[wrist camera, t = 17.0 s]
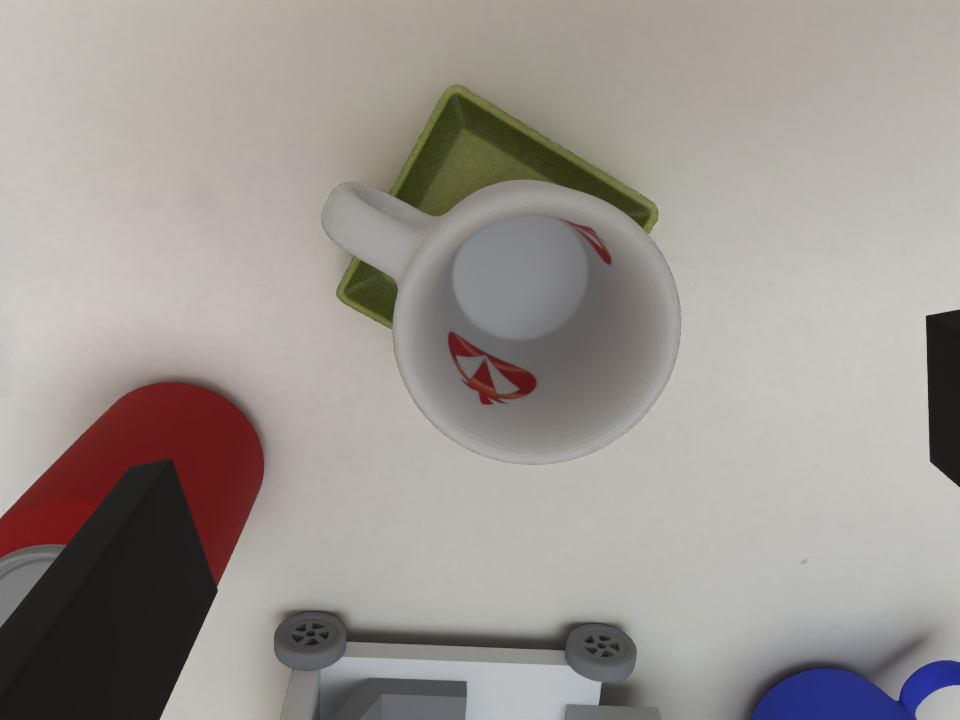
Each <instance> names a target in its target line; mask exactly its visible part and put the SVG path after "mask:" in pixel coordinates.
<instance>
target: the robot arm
mask: <svg viewBox="0 0 960 720" xmlns="http://www.w3.org/2000/svg"><path fill="white" fill-rule="evenodd" d="M926 333H927V371H928V408H929V445H930V462H931V463H932V464H933V465H935V466H936V467H937V468H938V469H939V470H940V471H942V472H943V473H944V474H945V475H946V476H947V477H948V478H950V479H951V480H952V481H953V482H954V483H955V484H957V485H958V486H959V487H960V310H955V311H949V312H944V313H939V314H933V315H928V316H926ZM217 592H218V589H217V587H216V584H215V581H214V578H213V575H212V572H211V569H210V566H209V563H208V560H207V558H206V555H205V552H204V549H203V546H202V543H201V540H200V537H199V534H198V531H197V528H196V526H195V523H194V520H193V517H192V514H191V511H190V508H189V505H188V502H187V499H186V497H185V494H184V491H183V488H182V485H181V482H180V479H179V476H178V473H177V470H176V468H175V465H174V462H173V459H172V458H171V459H166V460H161V461H155V462H150V463H145V464H140V465H134V466H130V467H129V468H128V470H127V471H126V472H125V473H124V474H123V476H122V477H121V478H120V479H119V481H118V482H117V483H116V484H115V486H114V487H113V488H112V489H111V491H110V492H109V493H108V494H107V496H106V497H105V498H104V499H103V501H102V502H101V503H100V504H99V506H98V507H97V508H96V509H95V511H94V512H93V513H92V514H91V516H90V517H89V518H88V519H87V521H86V522H85V523H84V524H83V525H82V527H81V528H80V529H79V530H78V532H77V533H76V534H75V535H74V537H73V538H72V539H71V540H70V542H69V543H68V544H67V545H66V547H65V548H64V549H63V550H62V552H61V553H60V554H59V555H58V557H57V558H56V559H55V560H54V562H53V563H52V564H51V565H50V567H49V568H48V569H47V570H46V572H45V573H44V574H43V575H42V576H41V578H40V579H39V580H38V581H37V583H36V584H35V585H34V586H33V588H32V589H31V590H30V591H29V593H28V594H27V595H26V596H25V598H24V599H23V600H22V601H21V603H20V604H19V605H18V606H17V608H16V609H15V610H14V611H13V613H12V614H11V615H10V616H9V618H8V619H7V620H6V621H5V623H4V624H3V625H2V626H1V627H0V720H160V717H161V715H162V713H163V711H164V709H165V706H166V704H167V702H168V700H169V698H170V695H171V693H172V691H173V689H174V686H175V684H176V682H177V680H178V678H179V675H180V673H181V671H182V669H183V667H184V664H185V662H186V660H187V658H188V656H189V653H190V651H191V649H192V647H193V645H194V642H195V640H196V638H197V636H198V634H199V631H200V629H201V627H202V625H203V623H204V620H205V618H206V616H207V614H208V612H209V609H210V607H211V605H212V603H213V600H214V598H215V596H216V594H217Z"/></svg>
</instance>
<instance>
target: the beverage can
mask: <svg viewBox="0 0 960 720" xmlns="http://www.w3.org/2000/svg"><path fill="white" fill-rule="evenodd" d="M171 458H172V459H173V462H174V465H175V468H176V470H177V473H178V476H179V479H180V482H181V485H182V488H183V491H184V494H185V497H186V499H187V502H188V505H189V508H190V511H191V514H192V517H193V520H194V523H195V526H196V528H197V531H198V534H199V537H200V540H201V543H202V546H203V549H204V552H205V555H206V558H207V560H208V563H209V566H210V569H211V572H212V575H213V578H214V581H215V584H216V587H217V586H218V584H219V582H220V579H221V577H222V575H223V573H224V571H225V568H226V566H227V564H228V562H229V560H230V557H231V555H232V553H233V551H234V548H235V546H236V544H237V541H238V539H239V537H240V535H241V532H242V530H243V528H244V525H245V523H246V521H247V518H248V516H249V514H250V511H251V509H252V507H253V504H254V502H255V499H256V497H257V495H258V492H259V490H260V487H261V484H262V480H263V473H264V459H263V453H262V448H261V445H260V441H259V439H258V436H257V434H256V432H255V430H254V429H253V427H252V425H251V424H250V422H249V421H248V420H247V418H246V417H245V416H244V415H243V414H242V413H241V412H240V411H239V410H238V409H237V408H236V407H235V406H234V405H233V404H232V403H230V402H229V401H227V400H226V399H225V398H223V397H221V396H220V395H218V394H216V393H214V392H212V391H210V390H207V389H205V388H202V387H198V386H195V385H191V384H185V383H174V382H170V383H157V384H152V385H148V386H144V387H141V388H139V389H136V390H134V391H132V392H130V393H128V394H126V395H125V396H123V397H122V398H121V399H119V400H118V401H117V402H116V403H115V404H113V405H112V406H111V407H110V408H109V409H108V410H107V411H106V412H105V413H104V414H103V415H102V416H101V417H100V418H99V419H98V420H97V421H96V422H95V423H94V424H93V425H92V426H91V427H90V428H89V429H88V430H87V431H86V432H84V433H83V434H82V435H81V436H80V437H79V438H78V439H77V440H76V441H75V442H74V444H73V445H72V446H71V447H70V448H69V449H68V450H67V451H66V452H65V453H64V454H63V455H62V456H61V457H60V458H59V459H58V460H57V461H56V462H55V463H54V464H53V465H52V466H51V467H50V468H49V469H48V470H47V471H46V472H45V473H44V474H43V475H42V476H41V477H40V478H39V479H38V480H37V481H36V482H35V483H34V484H33V485H32V486H31V487H30V488H29V489H28V490H27V491H26V492H25V493H24V494H23V495H22V496H21V497H20V499H19V500H18V501H17V502H16V503H15V504H14V505H13V506H12V507H11V508H10V509H9V510H8V511H7V512H6V513H5V514H4V515H3V516H2V517H1V518H0V627H1V626H2V625H3V624H4V623H5V621H6V620H7V619H8V618H9V616H10V615H11V614H12V613H13V611H14V610H15V609H16V608H17V606H18V605H19V604H20V603H21V601H22V600H23V599H24V598H25V596H26V595H27V594H28V593H29V591H30V590H31V589H32V588H33V586H34V585H35V584H36V583H37V581H38V580H39V579H40V578H41V576H42V575H43V574H44V573H45V572H46V570H47V569H48V568H49V567H50V565H51V564H52V563H53V562H54V560H55V559H56V558H57V557H58V555H59V554H60V553H61V552H62V550H63V549H64V548H65V547H66V545H67V544H68V543H69V542H70V540H71V539H72V538H73V537H74V535H75V534H76V533H77V532H78V530H79V529H80V528H81V527H82V525H83V524H84V523H85V522H86V521H87V519H88V518H89V517H90V516H91V514H92V513H93V512H94V511H95V509H96V508H97V507H98V506H99V504H100V503H101V502H102V501H103V499H104V498H105V497H106V496H107V494H108V493H109V492H110V491H111V489H112V488H113V487H114V486H115V484H116V483H117V482H118V481H119V479H120V478H121V477H122V476H123V474H124V473H125V472H126V471H127V470H128V468H129V467H130V466H134V465H140V464H145V463H150V462H155V461H161V460H166V459H171Z"/></svg>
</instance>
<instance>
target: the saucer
mask: <svg viewBox="0 0 960 720" xmlns="http://www.w3.org/2000/svg"><path fill="white" fill-rule="evenodd" d="M510 180H538V181H544V182H549V183H553V184H556V185H560V186H563V187H566V188H570V189H573V190H577V191H580V192H583V193H586V194H589V195H592V196H594V197H597V198H599V199H601V200H603V201H605V202H607V203H609V204H611V205H613V206H615V207H616V208H618V209H619V210H621V211H622V212H624V213H625V214H626V215H628V216H629V217H630V218H631V219H633V220H634V221H635V222H636V223H637V224H638V225H639V226H640V227H641V228H643V229H644V231H645V232H646V233H647V234H649V233H650V231H651V229H652V228H653V226H654V225H655V223H656V222H657V220H658V209H657V207H656V205H655V204H654V203H653V202H652V201H650V200H649V199H647V198H645V197H644V196H642V195H641V194H639V193H638V192H636V191H635V190H633V189H631V188H629V187H628V186H626V185H624V184H623V183H621V182H619V181H617V180H616V179H614V178H612V177H611V176H609V175H608V174H606V173H604V172H602V171H601V170H599V169H597V168H596V167H594V166H592V165H591V164H589V163H588V162H586V161H584V160H582V159H581V158H579V157H578V156H576V155H574V154H573V153H571V152H569V151H568V150H566V149H564V148H562V147H561V146H559V145H557V144H556V143H554V142H552V141H551V140H549V139H548V138H546V137H544V136H543V135H541V134H540V133H538V132H536V131H535V130H533V129H531V128H529V127H528V126H526V125H525V124H523V123H522V122H520V121H518V120H517V119H515V118H513V117H511V116H510V115H508V114H507V113H505V112H503V111H502V110H500V109H499V108H497V107H495V106H494V105H492V104H490V103H489V102H487V101H486V100H484V99H482V98H481V97H479V96H477V95H476V94H474V93H472V92H471V91H469V90H468V89H466V88H464V87H463V86H460V85H453V86H450V87H449V88H448V89H447V90H446V91H445V92H444V93H443V95H442V97H441V98H440V100H439V102H438V104H437V106H436V107H435V109H434V111H433V113H432V115H431V117H430V119H429V121H428V123H427V124H426V126H425V128H424V130H423V132H422V134H421V135H420V137H419V139H418V141H417V143H416V145H415V147H414V148H413V150H412V152H411V154H410V156H409V158H408V160H407V162H406V163H405V165H404V167H403V169H402V171H401V173H400V174H399V176H398V178H397V180H396V182H395V184H394V185H393V187H392V189H391V191H390V193H389V194H390V195H392V196H394V197H396V198H398V199H400V200H401V201H403V202H405V203H407V204H409V205H411V206H413V207H414V208H416V209H418V210H420V211H422V212H424V213H426V214H428V215H431V216H442V215H444V214H445V213H447V212H448V211H450V210H451V209H452V208H453V207H454V206H455V205H457V204H458V203H459V202H460V201H462V200H463V199H464V198H466V197H467V196H469V195H471V194H472V193H474V192H476V191H478V190H480V189H482V188H484V187H487V186H490V185H493V184H496V183H499V182H504V181H510ZM397 293H398V287H397V283H396V282H395V280H394V279H393V278H392V277H390V276H388V275H387V274H385V273H384V272H382V271H380V270H378V269H377V268H375V267H373V266H371V265H369V264H368V263H366V262H364V261H362V260H360V259H359V258H357V257H355V256H354V258H353V260H352V262H351V264H350V265H349V267H348V269H347V271H346V273H345V274H344V276H343V278H342V280H341V282H340V284H339V286H338V288H337V292H336V295H337V297H338V298H339V299H340V301H342V302H343V303H344V304H346V305H348V306H350V307H351V308H353V309H355V310H356V311H358V312H360V313H362V314H364V315H366V316H368V317H370V318H372V319H373V320H375V321H377V322H379V323H381V324H382V325H384V326H387V327H389V328H391V329H392V330H393V315H394V307H395V302H396V298H397Z"/></svg>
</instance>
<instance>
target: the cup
mask: <svg viewBox="0 0 960 720" xmlns="http://www.w3.org/2000/svg"><path fill="white" fill-rule="evenodd" d="M321 222H322V227H323V229H324V230H325V232H326V234H327V235H328V236H329V237H330V238H331V239H332V240H333V241H334V242H335V243H336V244H338V245H339V246H340V247H341V248H343V249H344V250H346V251H347V252H349V253H351V254H352V255H354V256H355V257H357V258H359V259H360V260H362V261H364V262H366V263H368V264H369V265H371V266H373V267H375V268H377V269H378V270H380V271H382V272H384V273H385V274H387V275H388V276H390V277H392V278H393V279H394V280H395V282H396V283H397V287H398V293H397V298H396V302H395V307H394V315H393V343H394V351H395V356H396V360H397V364H398V368H399V371H400V374H401V377H402V379H403V381H404V384H405V386H406V388H407V390H408V392H409V394H410V396H411V397H412V399H413V400H414V402H415V403H416V405H417V406H418V408H419V409H420V411H421V412H422V413H423V414H424V415H425V417H426V418H427V419H428V420H429V421H430V422H431V423H432V424H433V425H434V426H435V427H436V428H437V429H438V430H439V431H441V432H442V433H443V434H444V435H446V436H447V437H448V438H450V439H451V440H453V441H454V442H456V443H457V444H459V445H461V446H463V447H464V448H466V449H468V450H470V451H472V452H475V453H477V454H479V455H482V456H485V457H487V458H491V459H494V460H499V461H503V462H508V463H516V464H528V465H539V464H552V463H557V462H563V461H568V460H572V459H575V458H579V457H582V456H585V455H587V454H590V453H592V452H594V451H597V450H599V449H601V448H603V447H605V446H606V445H608V444H610V443H612V442H613V441H615V440H616V439H618V438H619V437H621V436H622V435H623V434H625V433H626V432H627V431H629V430H630V429H631V428H632V427H633V426H634V425H635V424H636V423H638V422H639V421H640V420H641V419H642V418H643V417H644V415H645V414H646V413H647V412H648V411H649V409H650V408H651V407H652V406H653V404H654V403H655V402H656V400H657V399H658V397H659V396H660V394H661V392H662V391H663V389H664V387H665V385H666V383H667V381H668V379H669V377H670V374H671V372H672V370H673V366H674V363H675V360H676V357H677V353H678V348H679V342H680V335H681V311H680V302H679V297H678V292H677V288H676V285H675V281H674V278H673V276H672V273H671V271H670V268H669V266H668V264H667V262H666V260H665V258H664V256H663V254H662V253H661V251H660V250H659V248H658V247H657V245H656V244H655V242H654V241H653V240H652V239H651V238H650V236H649V235H648V234H647V233H646V232H645V231H644V229H643V228H641V227H640V226H639V225H638V224H637V223H636V222H635V221H634V220H633V219H631V218H630V217H629V216H628V215H626V214H625V213H624V212H622V211H621V210H619V209H618V208H616V207H615V206H613V205H611V204H609V203H607V202H605V201H603V200H601V199H599V198H597V197H594V196H592V195H589V194H586V193H583V192H580V191H577V190H573V189H570V188H566V187H563V186H560V185H556V184H553V183H549V182H544V181H538V180H510V181H504V182H499V183H496V184H493V185H490V186H487V187H484V188H482V189H480V190H478V191H476V192H474V193H472V194H471V195H469V196H467V197H466V198H464V199H463V200H462V201H460V202H459V203H458V204H457V205H455V206H454V207H453V208H452V209H451V210H450V211H448V212H447V213H445V214H444V215H442V216H431V215H428V214H426V213H424V212H422V211H420V210H418V209H416V208H414V207H413V206H411V205H409V204H407V203H405V202H403V201H401V200H400V199H398V198H396V197H394V196H392V195H390V194H388V193H386V192H383V191H381V190H378V189H376V188H373V187H371V186H368V185H365V184H362V183H357V182H345V183H342V184H339V185H338V186H337V187H336V188H335V189H334V190H333V191H332V192H331V194H330V196H329V198H328V200H327V201H326V204H325V206H324V209H323V212H322V219H321Z"/></svg>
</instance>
